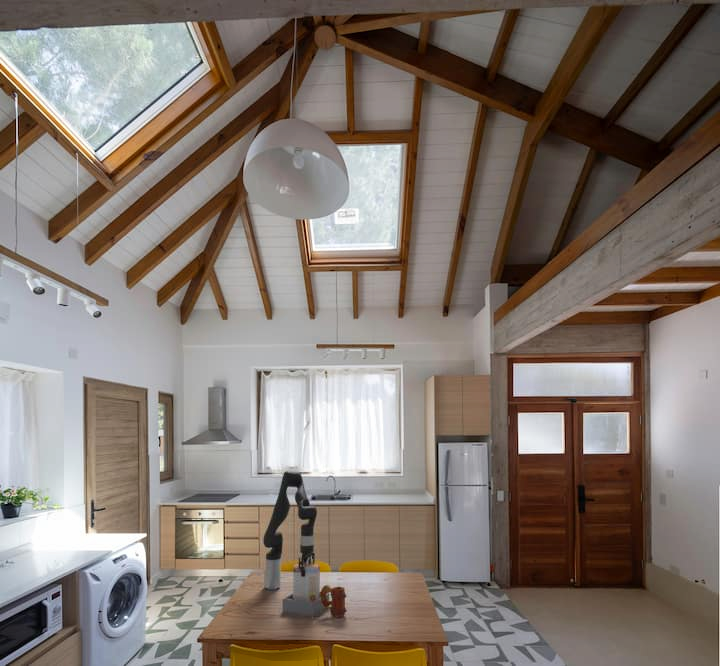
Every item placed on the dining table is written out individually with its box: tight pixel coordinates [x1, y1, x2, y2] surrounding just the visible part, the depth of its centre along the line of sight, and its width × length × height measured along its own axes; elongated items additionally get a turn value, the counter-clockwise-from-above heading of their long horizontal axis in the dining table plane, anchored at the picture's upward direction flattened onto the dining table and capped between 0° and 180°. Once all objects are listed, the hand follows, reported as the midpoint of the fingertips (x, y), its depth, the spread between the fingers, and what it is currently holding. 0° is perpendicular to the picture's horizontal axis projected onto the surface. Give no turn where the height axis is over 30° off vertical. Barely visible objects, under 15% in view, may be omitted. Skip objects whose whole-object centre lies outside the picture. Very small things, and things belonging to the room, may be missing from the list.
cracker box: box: [292, 563, 321, 603], centre depth 309 cm, size 14×6×21 cm, turn 84°
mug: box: [320, 584, 348, 619], centre depth 299 cm, size 15×8×15 cm, turn 71°
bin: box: [282, 591, 330, 618], centre depth 307 cm, size 19×19×7 cm
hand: (306, 574), depth 310 cm, fingers closed on cracker box, 7 cm apart
